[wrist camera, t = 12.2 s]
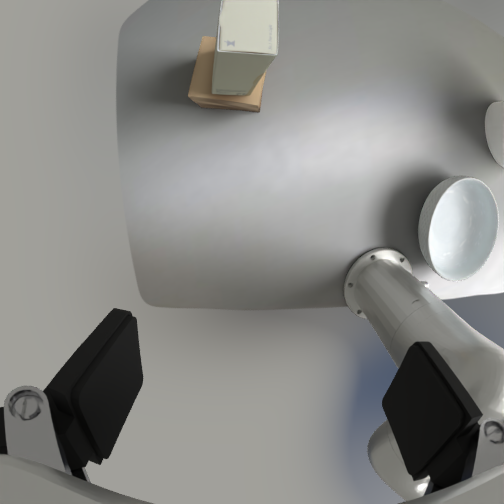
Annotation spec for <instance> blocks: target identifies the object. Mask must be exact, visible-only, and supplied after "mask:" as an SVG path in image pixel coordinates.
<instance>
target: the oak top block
mask: <svg viewBox="0 0 504 504" xmlns="http://www.w3.org/2000/svg"><path fill="white" fill-rule="evenodd" d="M215 45H216V37H205V36H203V37H202V41H201V45H200V48H199V52H198V56H197V60H196V64H195V68H194V72H193V76H192V80H191V84H190V88H189V93H188V97H189V98H190V99H191V100H193V101H194V102H195V103H204V104H213V105H220V106H228V107H234V108H241V109H247V110H253V111H258V108H259V103H260V99H261V94H262V89H263V84H264V80H265V75H266V72H265V73H264V74H263V76H262V78H261V79H260V81H259V82H258V84H257V85H256V87H255V88H254V90H253V92H252V93H251V95H250V96H245V95H223V94H212V76H213V64H214V55H215Z"/></svg>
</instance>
